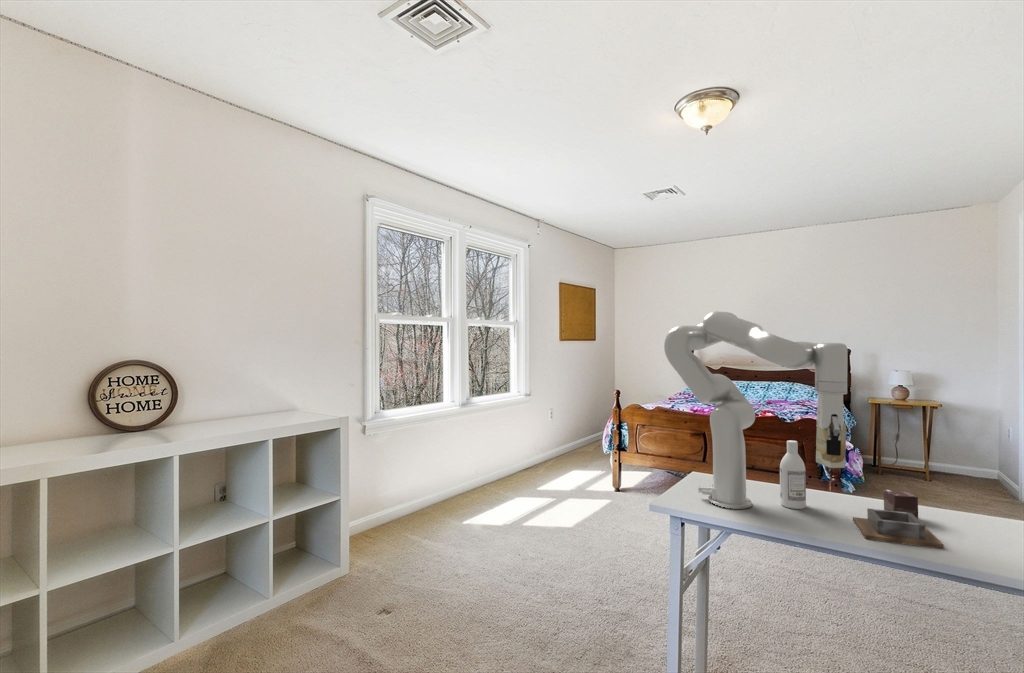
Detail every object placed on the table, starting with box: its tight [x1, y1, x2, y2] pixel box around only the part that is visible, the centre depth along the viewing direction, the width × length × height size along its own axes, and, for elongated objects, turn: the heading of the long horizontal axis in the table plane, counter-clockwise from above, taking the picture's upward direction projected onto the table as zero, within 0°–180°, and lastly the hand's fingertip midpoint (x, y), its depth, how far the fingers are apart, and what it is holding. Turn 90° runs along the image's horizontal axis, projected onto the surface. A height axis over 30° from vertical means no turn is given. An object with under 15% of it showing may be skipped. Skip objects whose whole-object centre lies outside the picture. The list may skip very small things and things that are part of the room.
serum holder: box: [852, 507, 945, 549], centre depth 132 cm, size 16×14×4 cm
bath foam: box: [779, 439, 807, 510], centre depth 155 cm, size 7×7×20 cm
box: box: [883, 489, 919, 520], centre depth 143 cm, size 6×6×7 cm
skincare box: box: [815, 419, 847, 469], centre depth 138 cm, size 6×4×12 cm
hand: (830, 451), depth 138 cm, fingers closed on skincare box, 7 cm apart
